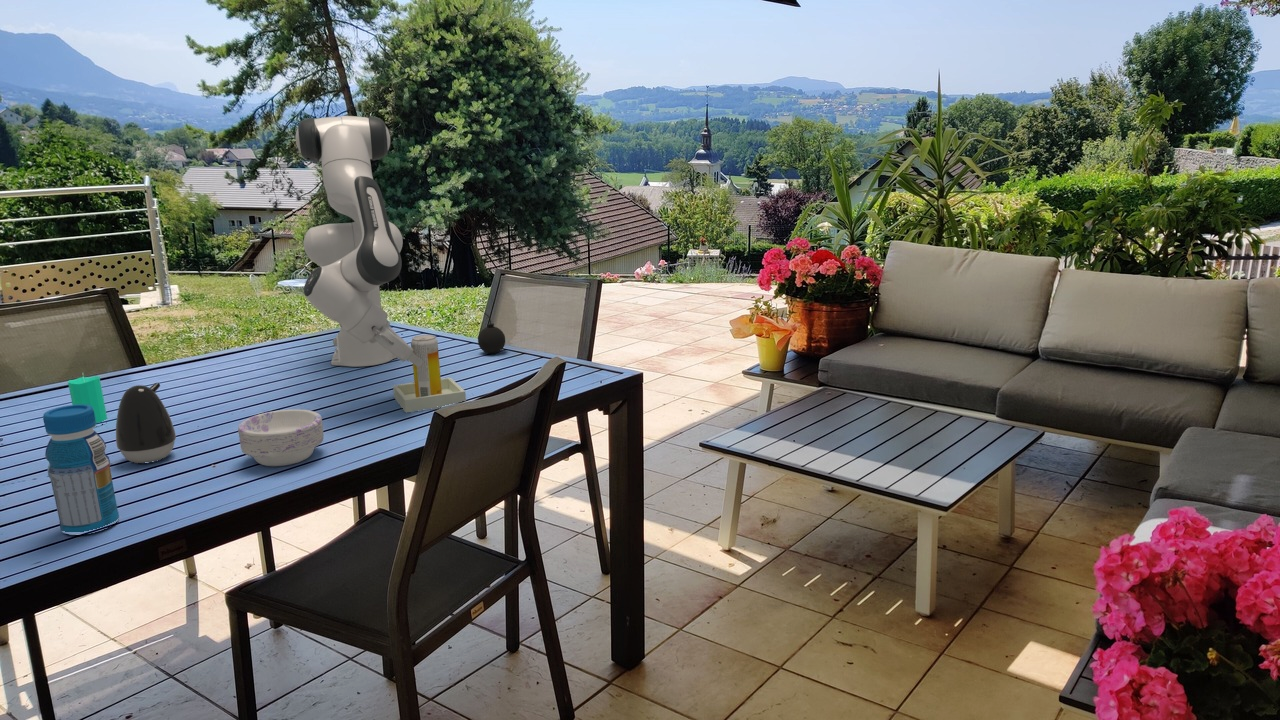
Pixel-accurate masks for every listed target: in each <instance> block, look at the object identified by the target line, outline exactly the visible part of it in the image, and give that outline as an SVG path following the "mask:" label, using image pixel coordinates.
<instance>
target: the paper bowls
mask: <svg viewBox="0 0 1280 720" xmlns="http://www.w3.org/2000/svg"><path fill="white" fill-rule="evenodd" d="M237 430H238V431H237V432H238V433H237V434H238V437H239V444H240V450H241V453H243V454H245V455H247V456H249V457H253V459H254V460H255V461H256V462H257V463H258V464H260V465H262V466H265V467H284V466H290V465H295V464H298V463H300V462H303V461H305V460H307V459H309V457H311V456H312V455H313V453H314V450H315V448H316V447H318V446H319V445H320V444H322V443H323V441H324V427H323V418H322V416H321V414H320V413H319V412H316V411H313V410H309V409H282V410H280V409H279V410H274V411H268V412H263V413H260V414H255V415H253V416H250V417H248V418H246V419H244V420H243V421H241V422H240V423H239V425H238V428H237Z"/></svg>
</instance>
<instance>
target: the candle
mask: <svg viewBox="0 0 1280 720" xmlns="http://www.w3.org/2000/svg"><path fill="white" fill-rule="evenodd" d="M67 384H68V388H69V393H70V400H71V405H80V404H83V405H90V406H92V407H93V410H94V414H95V420H96V423H99V422H102V421H104V420H106V419H108V415H107V408H106V404H105V399H104V394H103V393H104V392H103V389H102V388H103V387H102V383H101V377H100V376H97V375H95V376H91V377H86V376H84V372H82V377H81V376H80V377H78V378H75V379H72V380H71V379H69V380H68V382H67Z"/></svg>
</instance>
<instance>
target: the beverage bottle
mask: <svg viewBox="0 0 1280 720" xmlns="http://www.w3.org/2000/svg"><path fill="white" fill-rule="evenodd" d="M42 419H43V424H44V429H45V432H46V435H48V436H49V437H51V438H49V441H48V443H47V445H46V448H45V454H44V455H45V457H44V458H45V459H46V461H48V466H47V471H46V472H47V476H48V477H49V479H50V484H51V488H52V493H53V497H54V502H55V506H56V511H57V516H58V520H59V527H60V531H61V530H62V531H65V532H84V531H89V530H93V529H97V528H100V527H103V526H105V525H108V524H110V523H112V522H114V521H116V520H117V519H118V518H119V519H120V514H119V509H118V504H117V500H116V494H115V489H114V484H113V483H114V482H113V477H112V472H111V461H110V457H109V456H108V455H107V454H106V452H105V451H106V449H107V444H106V442H105V441H104V439H103V438H102V436H101V435H100V434H98V432H97V431H96V430H94V428H96V427H95V426H96V420H95V414H94V410H93V407H92V406H90V405H83V404H80V405H72V404H69V405H63V406H60V407H56V408H52V409H49V410H47V411H46V412H44V413H43V416H42ZM62 531H61V532H62Z"/></svg>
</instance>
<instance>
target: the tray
mask: <svg viewBox="0 0 1280 720" xmlns="http://www.w3.org/2000/svg"><path fill="white" fill-rule="evenodd" d="M392 388H393V391H392V392H393V399H395V401H396V400H397V401H396V403H397V404H398V405H399V404H400V405H399V406H400V407H401V409H402V408H403V409H402V410H403V411H404V413H405V412H406V413H405V414H408V413H407V412H411V413H414V412H413V411H418V410H423V409H431V408H433V409H431V410H436V409H440V408H439V407H442V406H445V405H449V404H453V403H458V402H462V401H466V402H467V397H466V391H465V389H464V388H462V387H461V385H460V384H458V383H457V382H456V380H454V379H453V378H451V377H445V378H441V389H442V394H438V395H431V396H424V397H417V398H416V394H415V383H414V382H409V383H400V384H393V385H392ZM437 406H438V407H437ZM418 412H419V411H418Z"/></svg>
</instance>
